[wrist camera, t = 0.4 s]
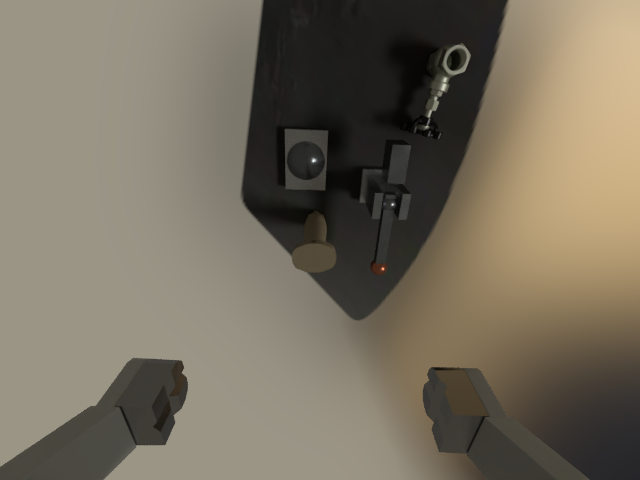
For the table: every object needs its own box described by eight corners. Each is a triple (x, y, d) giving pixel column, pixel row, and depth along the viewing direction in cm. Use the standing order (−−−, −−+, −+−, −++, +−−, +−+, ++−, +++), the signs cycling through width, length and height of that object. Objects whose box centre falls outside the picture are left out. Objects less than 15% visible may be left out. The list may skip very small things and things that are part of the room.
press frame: (285, 127, 48) (276, 137, 38) (404, 132, 48) (425, 143, 39) (286, 196, 54) (279, 221, 44) (393, 200, 54) (409, 226, 44)
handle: (298, 206, 55) (290, 244, 41) (332, 205, 54) (336, 243, 41) (299, 229, 57) (293, 272, 43) (332, 229, 57) (336, 272, 43)
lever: (384, 139, 42) (391, 144, 38) (404, 140, 42) (412, 145, 38) (367, 266, 52) (371, 280, 48) (383, 266, 52) (388, 281, 48)
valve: (423, 42, 43) (395, 126, 48) (439, 34, 37) (405, 131, 42) (464, 53, 43) (432, 136, 49) (487, 48, 38) (448, 142, 43)
